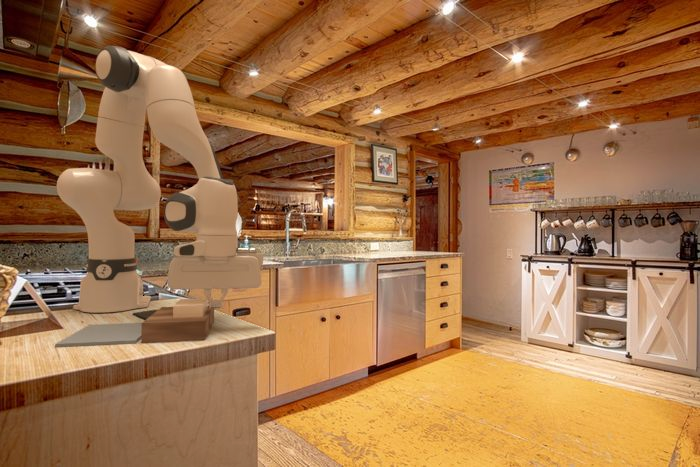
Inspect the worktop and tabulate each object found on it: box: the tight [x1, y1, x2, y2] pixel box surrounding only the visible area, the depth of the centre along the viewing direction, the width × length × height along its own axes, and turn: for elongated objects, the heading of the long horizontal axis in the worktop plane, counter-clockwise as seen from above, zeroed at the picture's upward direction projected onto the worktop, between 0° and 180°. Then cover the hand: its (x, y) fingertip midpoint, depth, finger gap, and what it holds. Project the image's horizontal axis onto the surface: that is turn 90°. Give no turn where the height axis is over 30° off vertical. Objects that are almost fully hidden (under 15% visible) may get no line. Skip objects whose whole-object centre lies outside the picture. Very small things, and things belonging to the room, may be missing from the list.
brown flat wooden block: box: [140, 305, 215, 344], centre depth 85 cm, size 16×12×4 cm
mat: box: [54, 322, 142, 348], centre depth 81 cm, size 15×14×1 cm
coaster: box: [172, 298, 209, 318], centre depth 85 cm, size 8×6×2 cm
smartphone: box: [132, 309, 159, 321], centre depth 98 cm, size 7×1×15 cm
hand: (215, 308), depth 87 cm, fingers closed
